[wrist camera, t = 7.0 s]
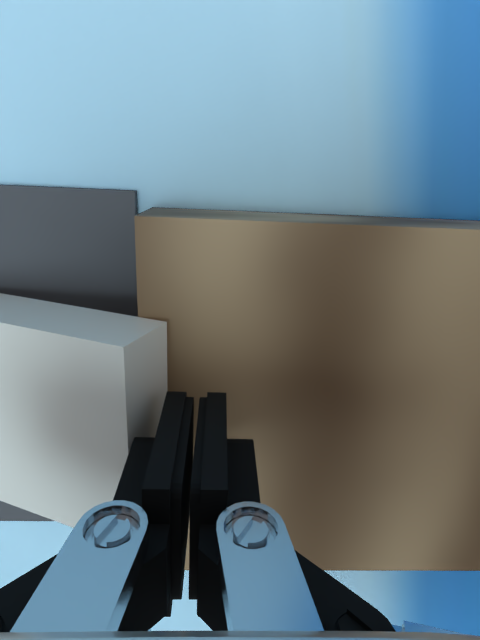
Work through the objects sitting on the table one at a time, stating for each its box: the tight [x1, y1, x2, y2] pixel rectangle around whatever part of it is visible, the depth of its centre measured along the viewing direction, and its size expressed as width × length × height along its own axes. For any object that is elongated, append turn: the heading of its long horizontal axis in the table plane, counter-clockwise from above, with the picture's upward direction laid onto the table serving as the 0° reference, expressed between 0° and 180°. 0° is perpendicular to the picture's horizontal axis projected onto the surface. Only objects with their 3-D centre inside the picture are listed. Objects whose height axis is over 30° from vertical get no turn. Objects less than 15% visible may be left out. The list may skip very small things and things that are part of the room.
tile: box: [0, 293, 168, 528], centre depth 13 cm, size 8×6×2 cm
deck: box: [134, 207, 480, 571], centre depth 15 cm, size 12×12×3 cm
